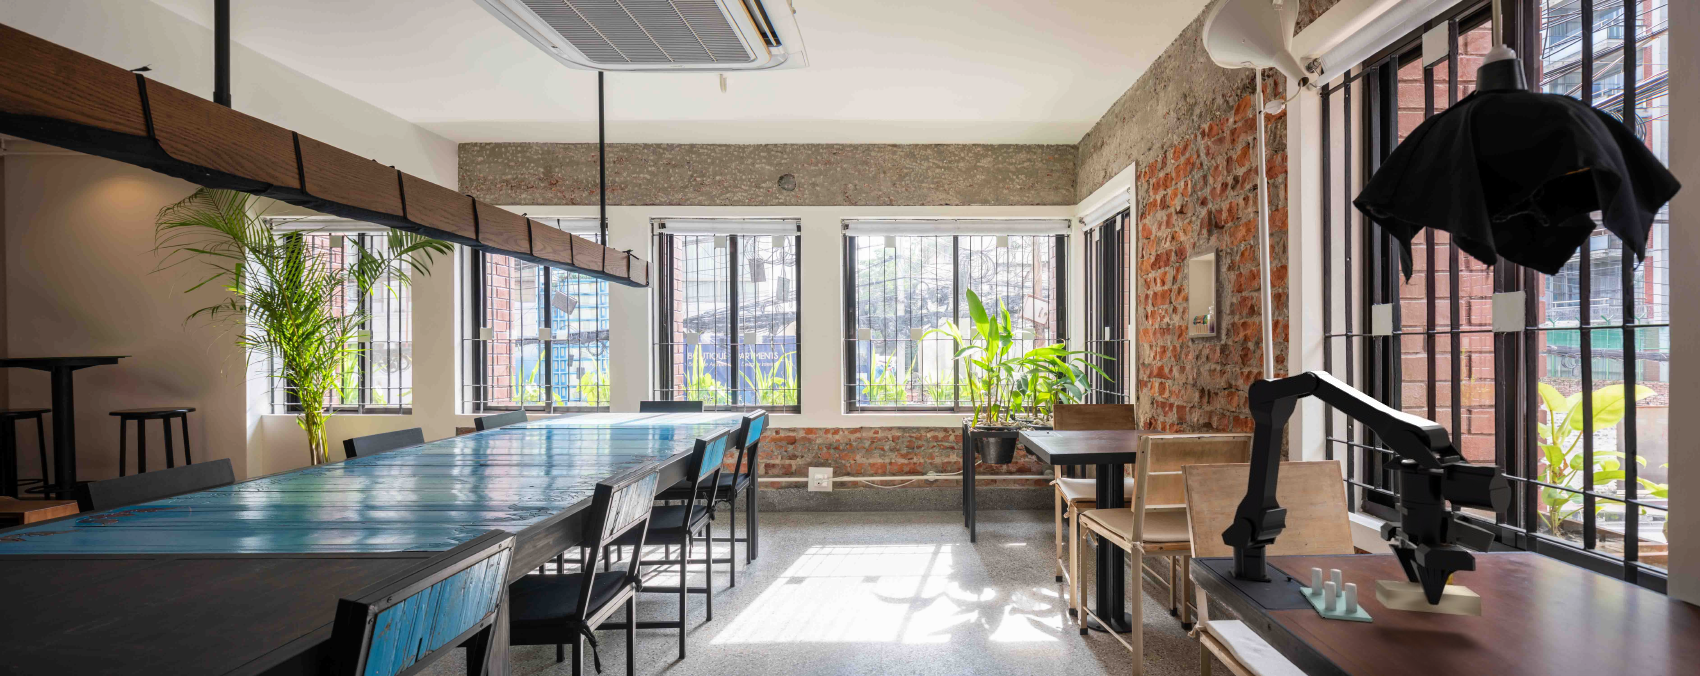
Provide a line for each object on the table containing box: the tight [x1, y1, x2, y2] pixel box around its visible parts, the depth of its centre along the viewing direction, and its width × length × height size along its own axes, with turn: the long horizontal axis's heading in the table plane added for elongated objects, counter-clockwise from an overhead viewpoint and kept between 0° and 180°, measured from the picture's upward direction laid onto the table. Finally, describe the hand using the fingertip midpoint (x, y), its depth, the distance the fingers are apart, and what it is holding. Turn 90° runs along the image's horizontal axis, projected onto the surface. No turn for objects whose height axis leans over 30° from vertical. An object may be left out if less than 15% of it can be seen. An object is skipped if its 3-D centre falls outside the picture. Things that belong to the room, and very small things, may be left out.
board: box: [1374, 579, 1482, 617], centre depth 112 cm, size 12×5×3 cm, turn 70°
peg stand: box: [1299, 567, 1373, 623], centre depth 123 cm, size 14×7×5 cm, turn 160°
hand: (1426, 598), depth 112 cm, fingers closed on board, 5 cm apart
